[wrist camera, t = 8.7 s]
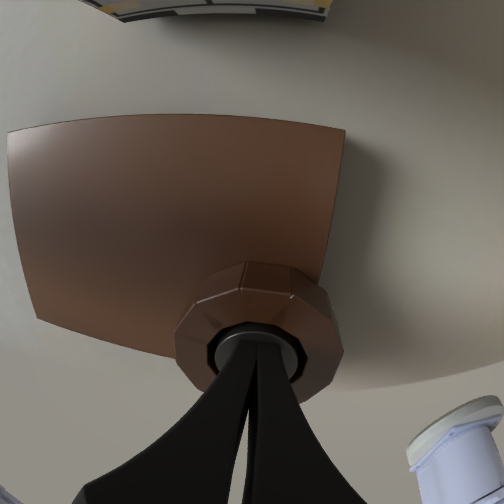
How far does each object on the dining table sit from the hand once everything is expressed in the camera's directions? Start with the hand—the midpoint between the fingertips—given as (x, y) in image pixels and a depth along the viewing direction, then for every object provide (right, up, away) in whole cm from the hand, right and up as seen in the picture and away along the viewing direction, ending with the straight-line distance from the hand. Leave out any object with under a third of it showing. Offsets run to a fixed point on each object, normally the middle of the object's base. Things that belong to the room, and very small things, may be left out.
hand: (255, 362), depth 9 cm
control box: (-5, +4, +3) cm, 7 cm away
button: (0, +1, +2) cm, 2 cm away
